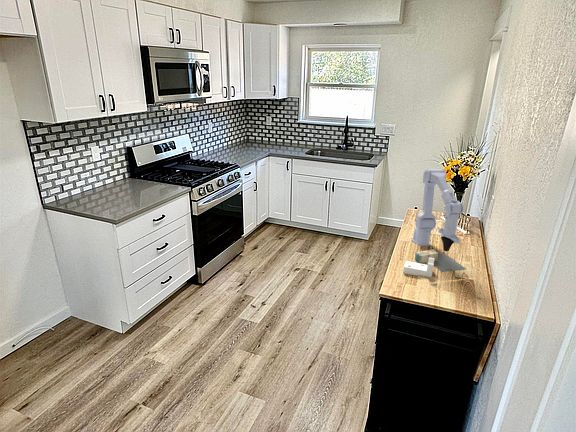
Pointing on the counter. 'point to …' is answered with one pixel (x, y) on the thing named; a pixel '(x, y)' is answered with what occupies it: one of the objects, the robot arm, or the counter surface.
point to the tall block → (426, 255)
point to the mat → (447, 263)
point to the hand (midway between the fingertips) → (446, 250)
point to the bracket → (419, 268)
